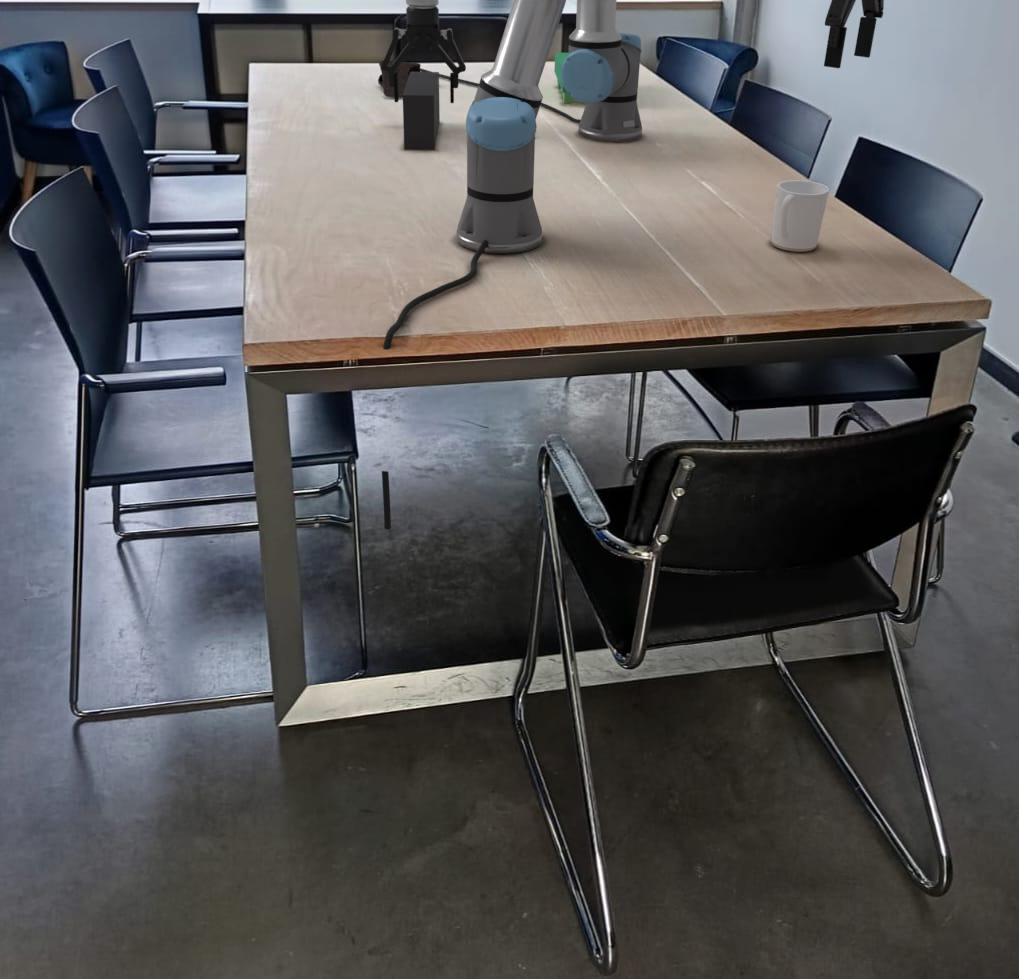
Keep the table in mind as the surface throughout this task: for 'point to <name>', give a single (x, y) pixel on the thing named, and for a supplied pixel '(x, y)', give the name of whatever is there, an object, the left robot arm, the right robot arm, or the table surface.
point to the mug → (798, 215)
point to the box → (421, 111)
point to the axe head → (403, 77)
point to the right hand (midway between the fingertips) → (424, 101)
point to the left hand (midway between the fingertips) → (847, 61)
